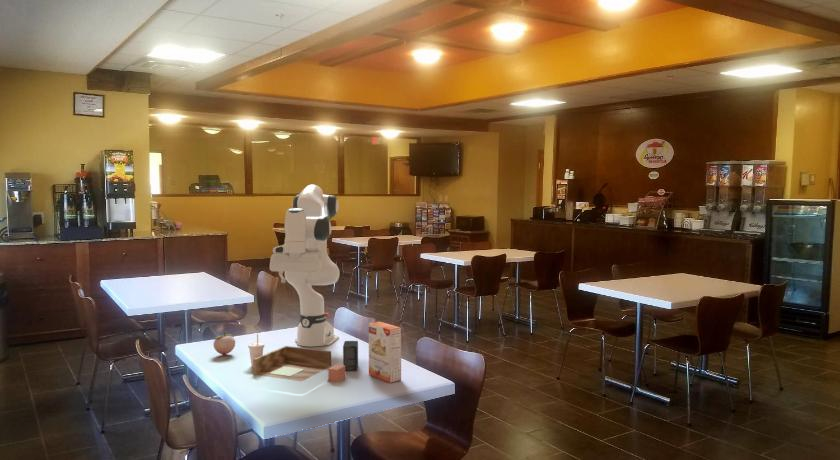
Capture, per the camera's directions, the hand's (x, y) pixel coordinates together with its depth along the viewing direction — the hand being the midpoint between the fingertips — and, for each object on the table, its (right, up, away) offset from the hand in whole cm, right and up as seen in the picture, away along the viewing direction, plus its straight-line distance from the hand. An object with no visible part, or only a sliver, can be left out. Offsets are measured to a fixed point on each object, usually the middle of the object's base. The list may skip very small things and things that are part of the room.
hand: (295, 282), depth 239 cm
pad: (-3, -35, -4) cm, 35 cm away
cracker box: (+36, -37, -8) cm, 52 cm away
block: (+18, -36, -11) cm, 42 cm away
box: (+22, -36, +4) cm, 42 cm away
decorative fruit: (-35, -34, +22) cm, 54 cm away
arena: (-1, -36, -1) cm, 36 cm away
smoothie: (-17, -35, +4) cm, 39 cm away
